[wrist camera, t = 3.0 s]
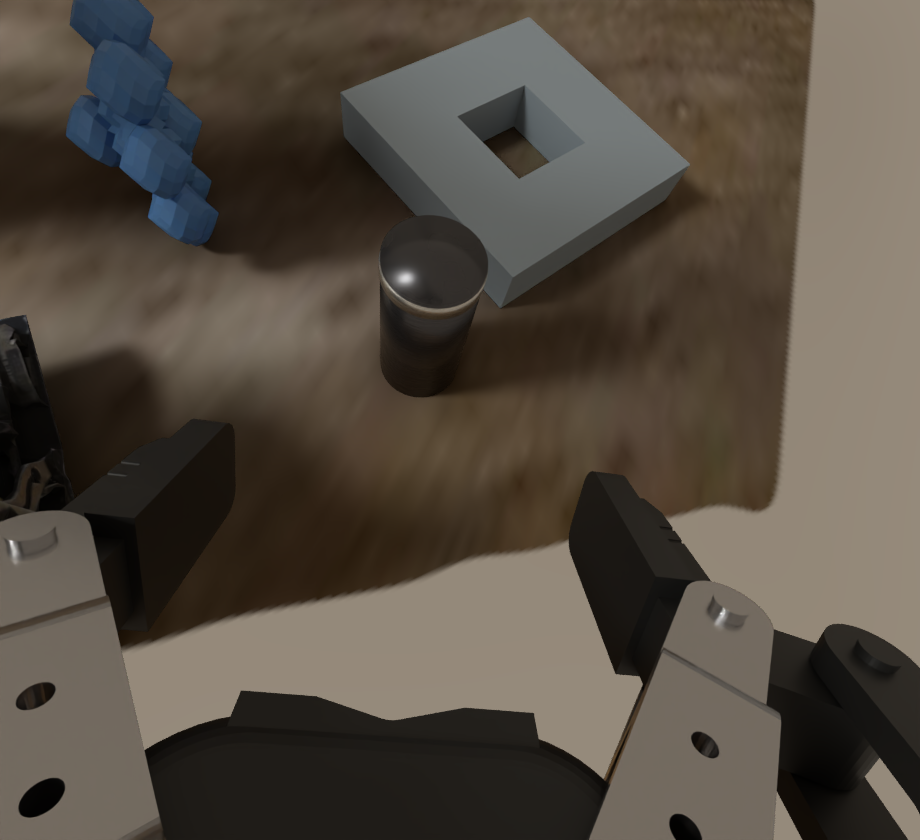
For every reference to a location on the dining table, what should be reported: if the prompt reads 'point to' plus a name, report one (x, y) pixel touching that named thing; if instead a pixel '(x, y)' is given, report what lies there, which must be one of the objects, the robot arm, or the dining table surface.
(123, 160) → the grapes
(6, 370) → the vintage camera
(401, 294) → the metal cylinder
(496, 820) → the robot arm
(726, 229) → the dining table surface
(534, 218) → the holder
